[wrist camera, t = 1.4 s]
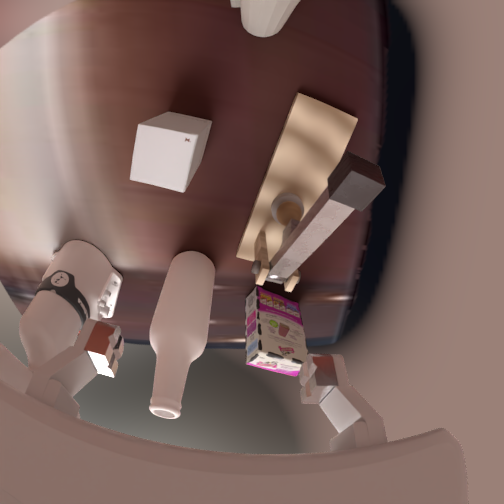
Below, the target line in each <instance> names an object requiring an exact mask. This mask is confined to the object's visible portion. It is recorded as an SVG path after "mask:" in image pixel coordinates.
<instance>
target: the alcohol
mask: <svg viewBox="0 0 504 504" xmlns="http://www.w3.org/2000/svg"><path fill="white" fill-rule="evenodd" d="M214 278H215V267H214V265H213V263H212V261H211V260H210V259H209V258H208V257H207V256H205V255H204V254H202V253H200V252H196V251H186V252H182V253H180V254H178V255H177V256H175V257H174V259H173V260H172V262H171V265H170V268H169V271H168V274H167V276H166V279H165V282H164V285H163V288H162V291H161V295H160V298H159V301H158V304H157V307H156V310H155V313H154V317H153V320H152V323H151V327H150V343H151V345H152V347H153V349H154V351H155V352H156V355H157V362H156V369H155V377H154V386H153V396H152V398H151V400H150V402H151V405H150V406H149V409H150V411H151V412H152V413H153V414H155V415H157V416H159V417H163V418H168V419H173V418H177V417H179V416H180V409H181V399H182V395H183V390H184V386H185V382H186V377H187V373H188V369H189V365H190V363H191V362H192V361H194V360H195V359H196V358H198V357H199V356H200V355H201V354H202V353H203V350H204V348H205V346H206V343H207V335H208V327H209V318H210V310H211V302H212V294H213V286H214Z"/></svg>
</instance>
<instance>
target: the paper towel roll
mask: <svg viewBox="0 0 504 504" xmlns="http://www.w3.org/2000/svg"><path fill="white" fill-rule="evenodd" d="M230 1H231V7H241V20H242V24H243V27H244V28H245V29H246V30H247V31H248V32H249V33H251V34H252V35H254V36H259V37H268V36H272V35H274V34H276V33H278V32H279V31H280V29H281V28H282V27H283V25H284V24H285V22H286V21H287V19H288V18H289V16H290V15H291V13H292V12H293V10H294V9H295V7H296V6H297V4H298V3H299V1H300V0H230Z"/></svg>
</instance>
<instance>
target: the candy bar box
mask: <svg viewBox="0 0 504 504" xmlns="http://www.w3.org/2000/svg"><path fill="white" fill-rule="evenodd" d="M245 319H246V322H245V325H246V364H248V365H251V366H255V367H259V368H263V369H266V370H270V371H274V372H278V373H283V374H287V375H292V376H297V375H298V374H299V372H300V367H301V365H302V364H303V363H304V362H306V357H307V356H308V350H307V344H306V338H305V333H304V328H303V323H302V318H301V313H300V308H299V304H298V303H297V302H294V301H292V300H290V299H287V298H285V297H282V296H280V295H277V294H275V293H273V292H270V291H268V290H266V289H263V288H261V287H259V286H256V287H255V288H254V289H253V291H252V292H251V293H250V294H249V295H248V296H247V298H246V299H245Z"/></svg>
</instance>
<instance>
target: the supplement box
mask: <svg viewBox="0 0 504 504" xmlns="http://www.w3.org/2000/svg"><path fill="white" fill-rule="evenodd" d="M211 124H212V121H210V120H206V119H201V118H197V117H192V116H188V115H183V114H179V113H173V112H166V113H164V114H161V115H159V116H156V117H154V118H151V119H149V120H147V121H144V122H142V123H140V124H138V129H137V134H136V139H135V145H134V152H133V158H132V166H131V174H130V180H134V181H138V182H143V183H147V184H152V185H156V186H160V187H164V188H167V189H171V190H175V191H179V192H185V190H186V188H187V187H188V185H189V183H190V181H191V179H192V177H193V176H194V174H195V172H196V170H197V168H198V166H199V165H200V163H201V161H202V157H203V154H204V150H205V146H206V143H207V139H208V135H209V131H210V128H211Z"/></svg>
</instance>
